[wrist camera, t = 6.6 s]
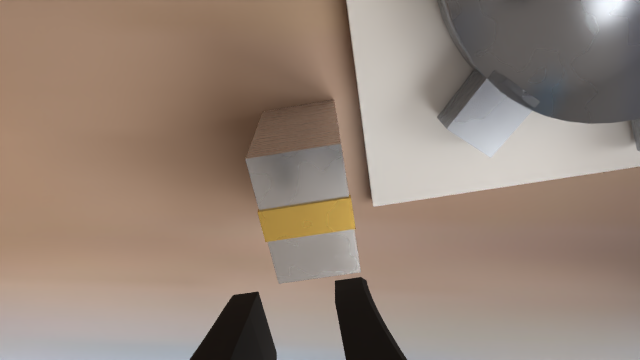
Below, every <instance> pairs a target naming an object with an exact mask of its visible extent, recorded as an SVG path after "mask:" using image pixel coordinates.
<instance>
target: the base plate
mask: <svg viewBox="0 0 640 360" xmlns="http://www.w3.org/2000/svg"><path fill="white" fill-rule="evenodd" d="M346 5H347V13H348V20H349V28H350V36H351V43H352V51H353V59H354V66H355V74H356V82H357V89H358V97H359V105H360V112H361V120H362V128H363V135H364V143H365V150H366V158H367V166H368V173H369V181H370V189H371V196H372V203H373V207H375V206H381V205H388V204H395V203H401V202H408V201H415V200H421V199H428V198H434V197H441V196H448V195H454V194H461V193H468V192H474V191H481V190H487V189H494V188H501V187H507V186H514V185H520V184H527V183H534V182H540V181H547V180H554V179H560V178H567V177H573V176H580V175H587V174H593V173H600V172H607V171H613V170H620V169H626V168H633V167H640V151H638V150H637V148H636V143H635V139H634V134H633V129H632V124H631V120H630V121H623V122H616V123H596V124H587V123H578V122H568V121H563V120H559V119H555V118H551V117H547V116H544V115H542V114H539V113H537V112H534V111H532V112H531V113H530V114H529V115H528V116H527V117H526V118H525V120H524V121H523V122H522V123H521V124H520V125H519V126H518V128H517V129H516V130H515V131H514V132H513V133H512V134H511V136H510V137H509V138H508V139H507V140H506V141H505V142H504V144H503V145H502V146H501V147H500V148H499V149H498V150H497V152H496V153H495V154H494V155H493V156H492V157H491V158H490V157H489V156H487V155H486V154H484V153H483V152H481V151H479V150H478V149H476V148H475V147H473V146H472V145H470V144H469V143H467V142H466V141H464V140H463V139H461V138H460V137H458V136H457V135H455V134H453V133H452V132H450V131H449V130H447V129H446V128H445V127H444V125H443V124H442V123H441V122H440V121H439V119H438V118H437V116H438V115H439V114H440V112H441V111H442V110H443V109H444V107H445V106H446V105H447V103H448V102H449V101H450V100H451V98H452V97H453V96H454V95H455V93H456V92H457V91H458V89H459V88H460V87H461V86H462V84H463V83H464V82H465V80H466V79H467V78H468V77H469V75H470V74H471V73H472V71H473V69H472V68H471V67H470V65H469V64H468V63H467V62H466V61H465V60H464V58H463V57H462V55H461V54H460V52H459V51H458V49H457V47H456V46H455V44H454V43H453V41H452V39H451V37H450V35H449V32H448V30H447V28H446V26H445V24H444V21H443V19H442V15H441V12H440V9H439V5H438V2H437V0H346Z"/></svg>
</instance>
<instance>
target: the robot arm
mask: <svg viewBox="0 0 640 360" xmlns="http://www.w3.org/2000/svg"><path fill="white" fill-rule="evenodd" d="M335 304H336V309H337V314H338V320H339V325H340V330H341V336H342V341H343V346H344V351H345V357H346V360H407V359H406V357H405V356H404V354H403V353H402V351H401V350H400V348H399V346H398V345H397V343H396V341H395V340H394V338H393V336H392V335H391V333H390V332H389V330H388V328H387V326H386V325H385V323H384V321H383V319H382V317H381V315H380V313H379V311H378V310H377V308H376V305H375V303H374V301H373V299H372V296H371V294H370V291H369V289H368V285H367V281H366V280H365V279H363V278H362V277H359V278H352V279H345V280H337V281H335ZM190 360H277V353H276V349H275V346H274V343H273V339H272V336H271V333H270V329H269V326H268V323H267V319H266V316H265V313H264V309H263V306H262V302H261V299H260V296H259V292H252V293H245V294H238V295H233V296H232V298H231V299H230V300H229V302H228V303H227V305H226V306H225V308H224V309H223V311H222V312H221V314H220V315H219V317H218V318H217V320H216V322H215V323H214V325H213V326H212V328H211V329H210V331H209V332H208V334H207V335H206V337H205V338H204V340H203V341H202V343H201V344H200V346H199V347H198V348H197V350H196V351H195V353H194V354H193V356H192V357H191V358H190Z"/></svg>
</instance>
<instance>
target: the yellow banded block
mask: <svg viewBox="0 0 640 360" xmlns="http://www.w3.org/2000/svg"><path fill="white" fill-rule="evenodd" d="M245 160H246V163H247V167H248V171H249V175H250V178H251V182H252V186H253V190H254V193H255V197H256V201H257V204H258V208H259V209H258V216H259V219H260V223H261V227H262V231H263V234H264V238H265V242H268V245H269V249H270V253H271V256H272V260H273V264H274V268H275V271H276V275H277V279H278V282H279V284H280V283H288V282H295V281H302V280H309V279H316V278H323V277H330V276H337V275H344V274H352V273H359V272H361V270H360V263H359V256H358V250H357V243H356V237H355V230H354V229H356V228H355V222H354V216H353V209H352V203H351V196H350V195H349V191H348V185H347V178H346V172H345V165H344V159H343V153H342V146H341V140H340V134H339V127H338V121H337V114H336V108H335V102H334V100H329V101H323V102H317V103H311V104H305V105H299V106H293V107H287V108H281V109H275V110H269V111H263V113H262V115H261V118H260V121H259V124H258V126H257V129H256V132H255V134H254V137H253V140H252V142H251V145H250V148H249V150H248V153H247V156H246V158H245Z"/></svg>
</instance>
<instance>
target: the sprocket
mask: <svg viewBox="0 0 640 360" xmlns="http://www.w3.org/2000/svg"><path fill="white" fill-rule="evenodd" d="M437 2H438V5H439V9H440V12H441V15H442V19H443V21H444V24H445V26H446V28H447V30H448V32H449V35H450V37H451V39H452V41H453V43H454V44H455V46H456V47H457V49H458V51H459V52H460V54H461V55H462V57H463V58H464V60H465V61H466V62H467V63H468V64H469V65H470V67H471V68H472V69H473V71H472V73H471V74H470V75H469V77H468V78H467V79H466V80H465V82H464V83H463V84H462V86H461V87H460V88H459V89H458V91H457V92H456V93H455V95H454V96H453V97H452V98H451V100H450V101H449V102H448V103H447V105H446V106H445V107H444V109H443V110H442V111H441V112H440V114H439V115H438V116H437V118H438V119H439V121H440V122H441V123H442V124H443V125H444V127H445V128H446V129H447V130H449V131H450V132H452V133H453V134H455V135H457V136H458V137H460V138H461V139H463V140H464V141H466V142H467V143H469V144H470V145H472V146H473V147H475V148H476V149H478V150H479V151H481V152H483V153H484V154H486V155H487V156H489V157H490V158H491V157H492V156H493V155H494V154H495V153H496V152H497V150H498V149H499V148H500V147H501V146H502V145H503V144H504V142H505V141H506V140H507V139H508V138H509V137H510V136H511V134H512V133H513V132H514V131H515V130H516V129H517V128H518V126H519V125H520V124H521V123H522V122H523V121H524V120H525V118H526V117H527V116H528V115H529V114H530V113H531V112H532V111H534V112H537V113H539V114H542V115H544V116H547V117H551V118H555V119H559V120H563V121H568V122H578V123H587V124H596V123H616V122H623V121H630V120H631V124H632V129H633V134H634V139H635V143H636V148H637V150H638V151H640V0H437Z"/></svg>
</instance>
